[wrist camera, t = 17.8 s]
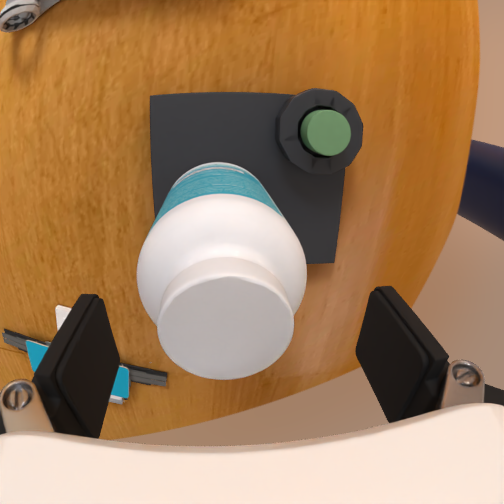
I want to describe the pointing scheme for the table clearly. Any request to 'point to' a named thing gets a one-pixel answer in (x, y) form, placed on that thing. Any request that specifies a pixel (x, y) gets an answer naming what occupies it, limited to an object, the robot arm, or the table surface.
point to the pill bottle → (221, 274)
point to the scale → (259, 153)
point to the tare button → (325, 132)
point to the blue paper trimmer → (124, 373)
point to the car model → (22, 13)
